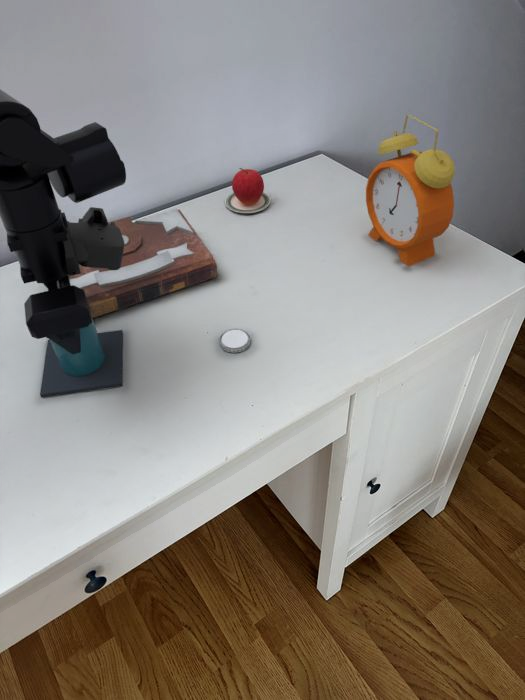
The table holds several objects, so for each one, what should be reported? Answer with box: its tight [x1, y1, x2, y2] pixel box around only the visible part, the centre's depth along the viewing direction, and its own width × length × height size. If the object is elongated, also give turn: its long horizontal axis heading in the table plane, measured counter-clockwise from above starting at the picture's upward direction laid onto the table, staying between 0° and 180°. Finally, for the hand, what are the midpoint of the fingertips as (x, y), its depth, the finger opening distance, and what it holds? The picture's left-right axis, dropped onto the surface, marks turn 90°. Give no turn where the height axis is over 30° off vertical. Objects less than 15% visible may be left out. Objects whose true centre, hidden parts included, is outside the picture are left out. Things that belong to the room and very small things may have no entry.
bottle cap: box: [219, 328, 251, 353], centre depth 76 cm, size 4×4×1 cm
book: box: [70, 208, 218, 319], centre depth 85 cm, size 23×16×5 cm
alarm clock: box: [365, 114, 456, 267], centre depth 84 cm, size 13×6×20 cm, turn 30°
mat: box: [39, 329, 124, 399], centre depth 74 cm, size 10×10×1 cm
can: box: [50, 312, 104, 376], centre depth 70 cm, size 6×6×10 cm
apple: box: [224, 167, 271, 214], centre depth 99 cm, size 8×8×6 cm
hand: (72, 327), depth 70 cm, fingers open, 9 cm apart
